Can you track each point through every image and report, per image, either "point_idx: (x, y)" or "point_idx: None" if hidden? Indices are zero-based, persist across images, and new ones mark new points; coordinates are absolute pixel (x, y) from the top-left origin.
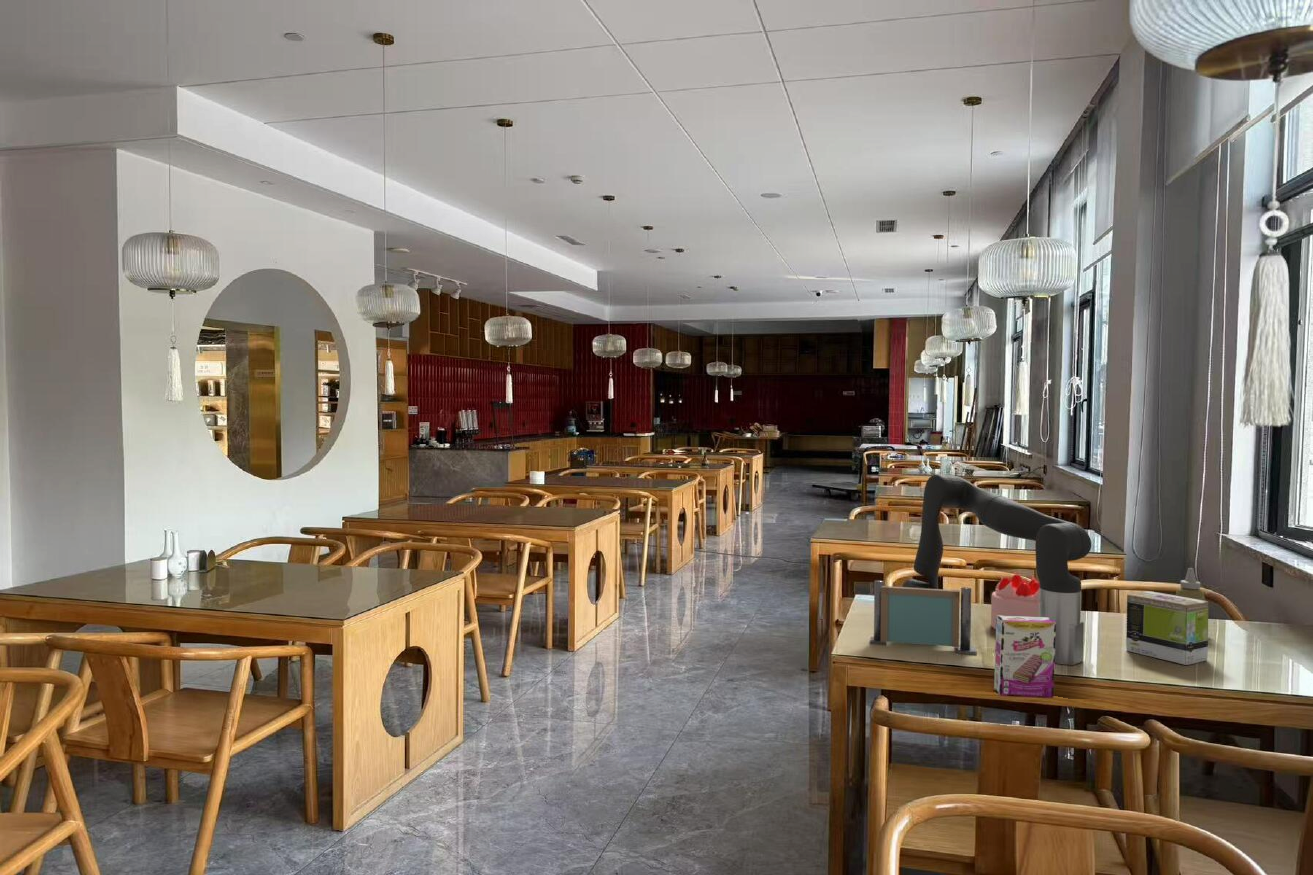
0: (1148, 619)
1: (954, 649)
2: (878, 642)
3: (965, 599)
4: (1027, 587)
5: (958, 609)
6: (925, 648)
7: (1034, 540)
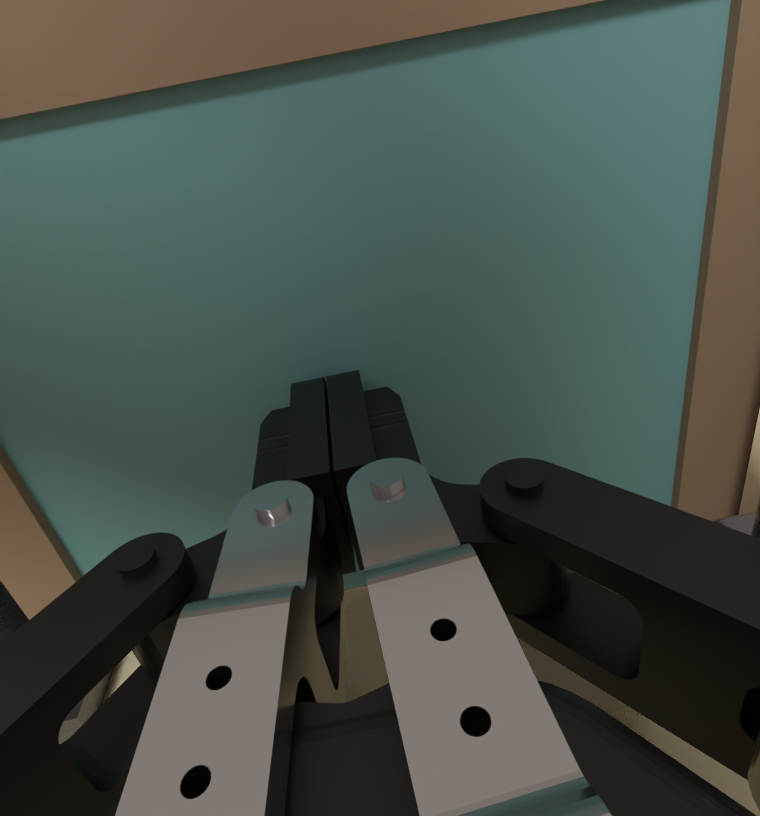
0: None
1: (107, 682)
2: (745, 522)
3: None
4: None
5: None
6: (352, 604)
7: None
